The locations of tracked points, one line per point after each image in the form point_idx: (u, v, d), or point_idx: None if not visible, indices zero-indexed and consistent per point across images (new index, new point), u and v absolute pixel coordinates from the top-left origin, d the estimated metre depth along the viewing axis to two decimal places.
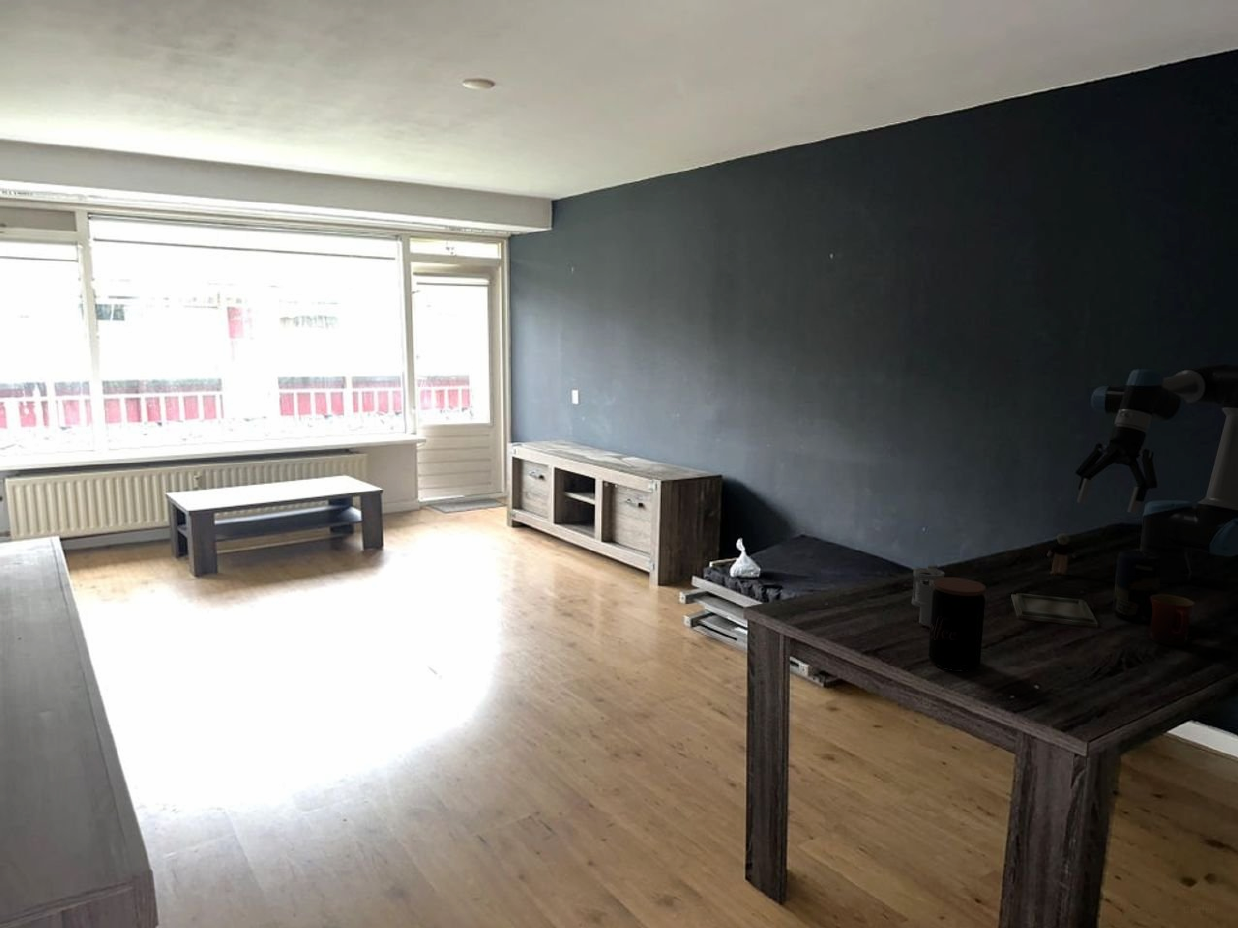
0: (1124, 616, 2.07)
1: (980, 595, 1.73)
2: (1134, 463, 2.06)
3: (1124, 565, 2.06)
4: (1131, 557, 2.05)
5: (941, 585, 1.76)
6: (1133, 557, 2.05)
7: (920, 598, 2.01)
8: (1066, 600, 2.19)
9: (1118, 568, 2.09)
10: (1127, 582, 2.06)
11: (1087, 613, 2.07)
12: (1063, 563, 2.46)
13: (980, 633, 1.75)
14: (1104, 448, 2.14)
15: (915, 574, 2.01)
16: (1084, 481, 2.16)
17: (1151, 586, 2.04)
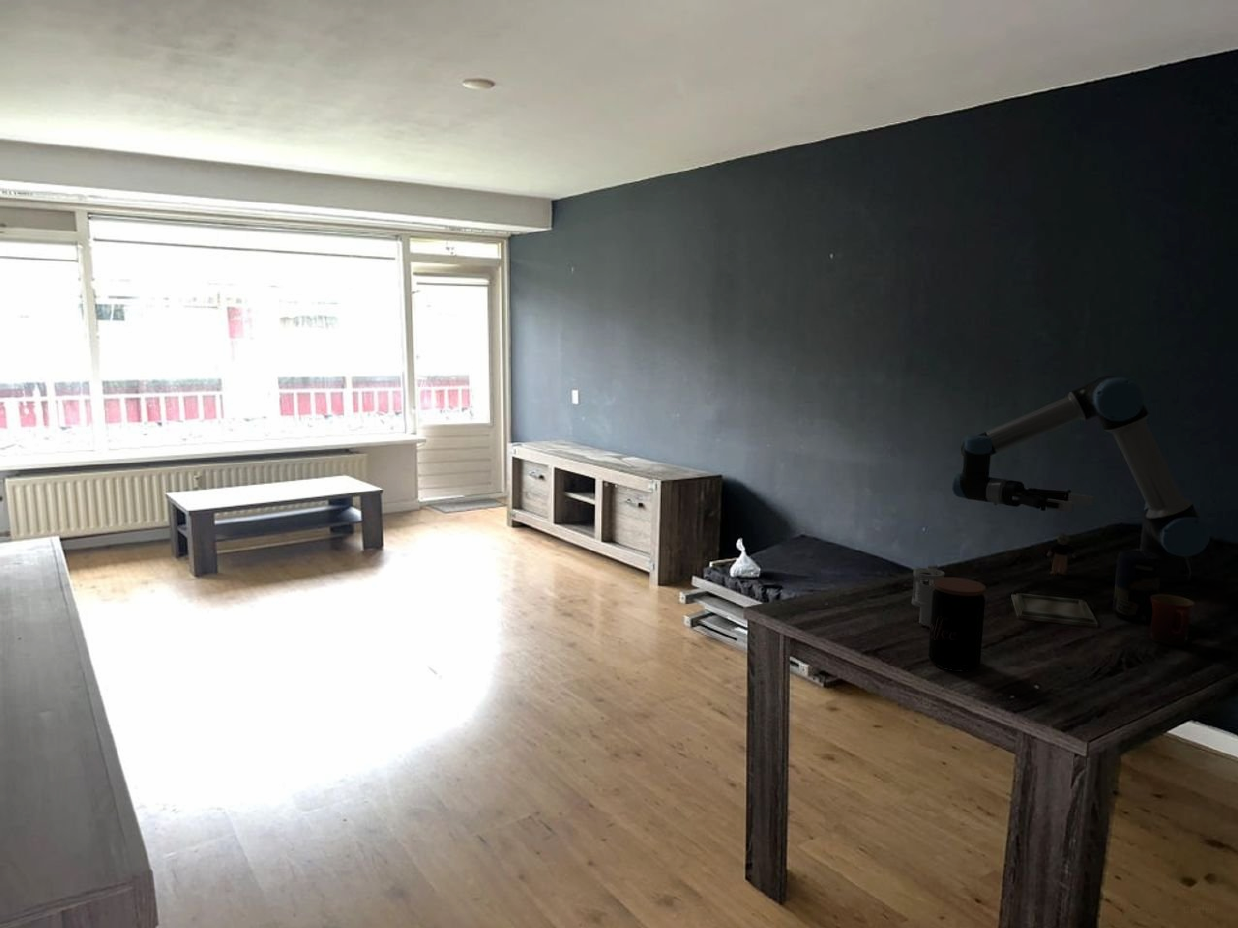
0: (1124, 616, 2.07)
1: (980, 595, 1.73)
2: None
3: (1124, 565, 2.06)
4: (1131, 557, 2.05)
5: (941, 585, 1.76)
6: (1133, 557, 2.05)
7: (920, 598, 2.01)
8: (1066, 600, 2.19)
9: (1118, 568, 2.09)
10: (1127, 582, 2.06)
11: (1087, 613, 2.07)
12: (1063, 563, 2.46)
13: (980, 633, 1.75)
14: None
15: (915, 574, 2.01)
16: None
17: (1151, 586, 2.04)
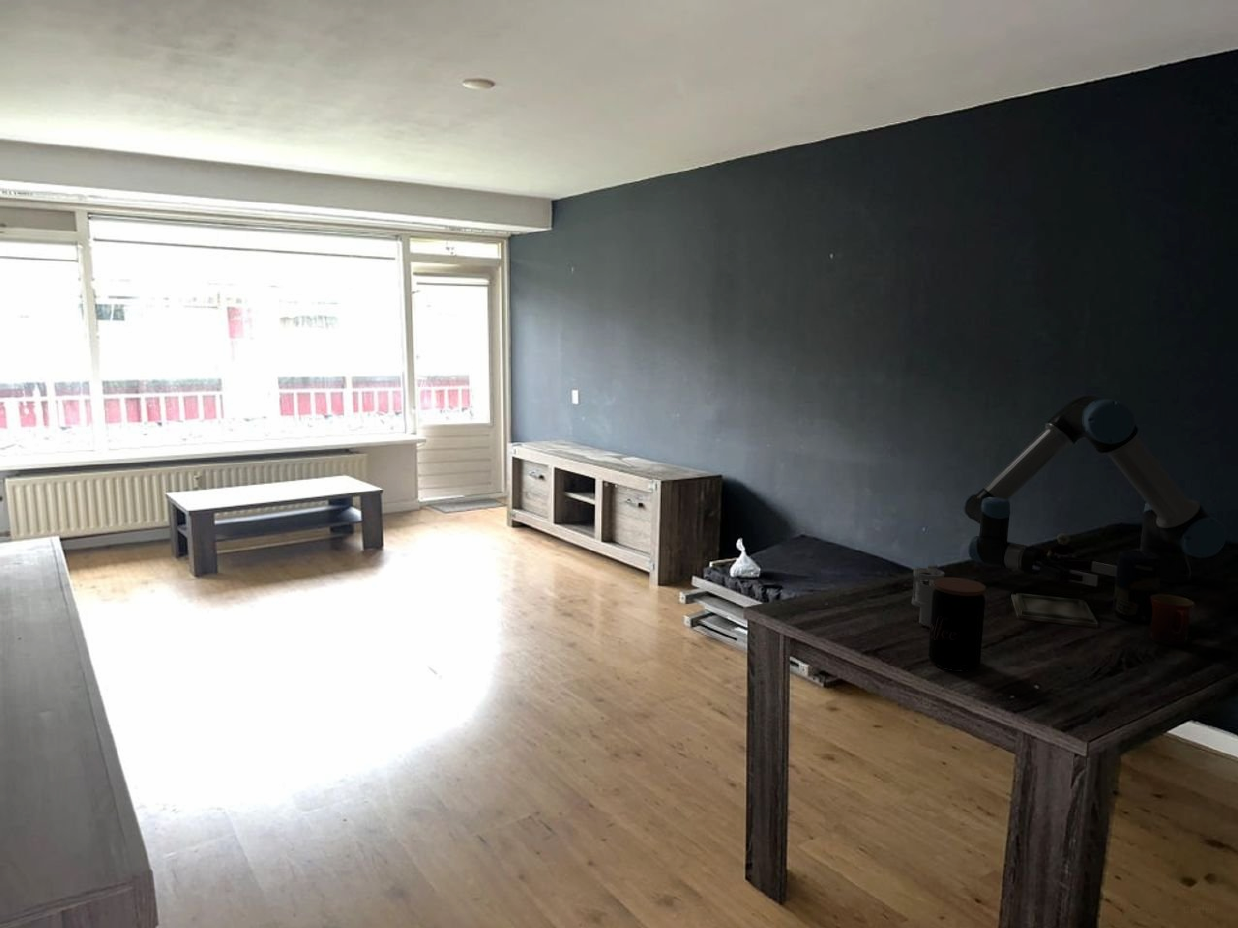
0: (1124, 616, 2.07)
1: (980, 595, 1.73)
2: None
3: (1124, 565, 2.06)
4: (1131, 557, 2.05)
5: (941, 585, 1.76)
6: (1133, 557, 2.05)
7: (920, 598, 2.01)
8: (1066, 600, 2.19)
9: (1118, 568, 2.09)
10: (1127, 582, 2.06)
11: (1087, 613, 2.07)
12: None
13: (980, 633, 1.75)
14: None
15: (915, 574, 2.01)
16: None
17: (1151, 586, 2.04)
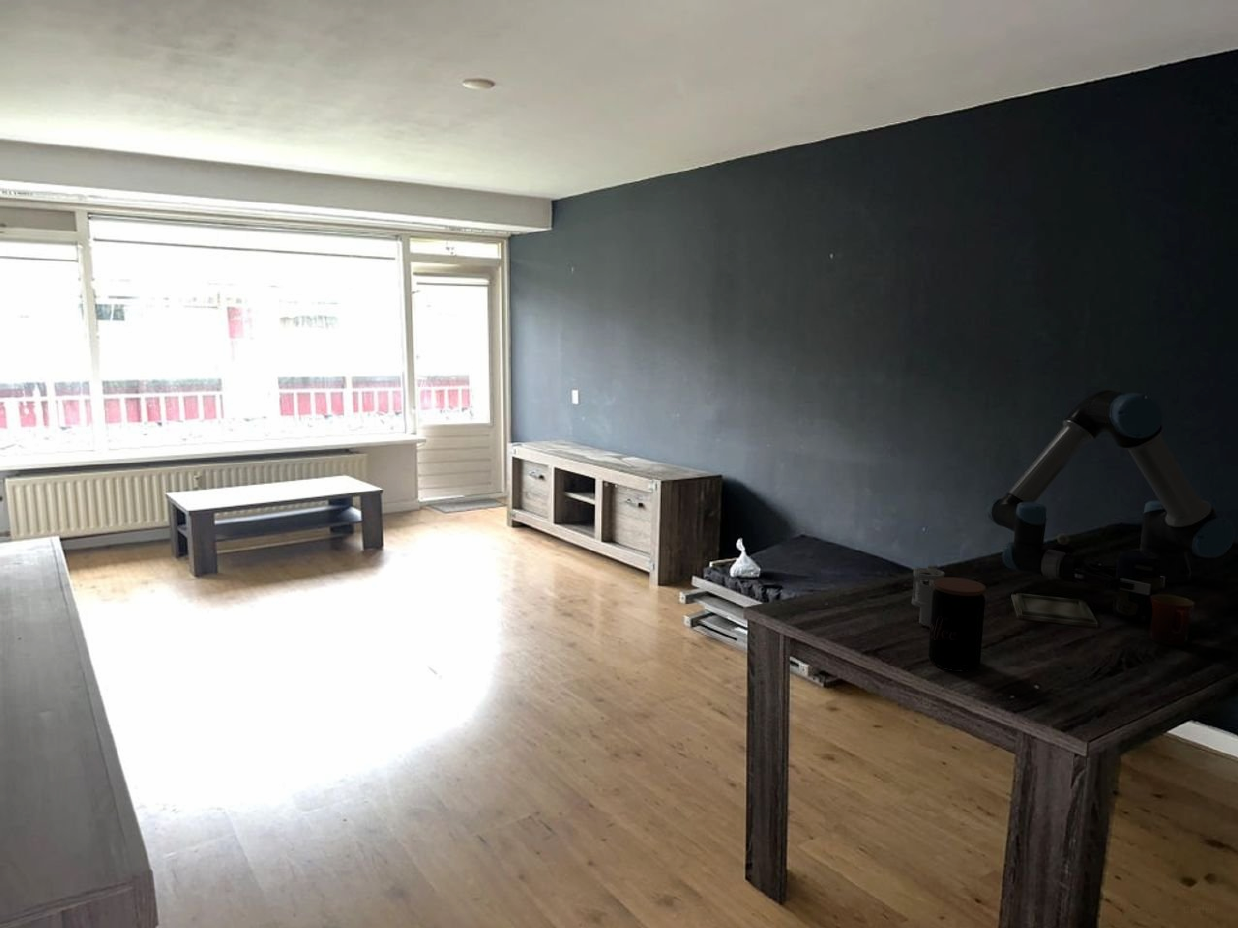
0: (1124, 616, 2.07)
1: (980, 595, 1.73)
2: None
3: (1124, 565, 2.06)
4: (1131, 557, 2.05)
5: (941, 585, 1.76)
6: (1133, 557, 2.05)
7: (920, 598, 2.01)
8: (1066, 600, 2.19)
9: (1118, 568, 2.09)
10: None
11: (1087, 613, 2.07)
12: None
13: (980, 633, 1.75)
14: None
15: (915, 574, 2.01)
16: None
17: (1151, 586, 2.04)
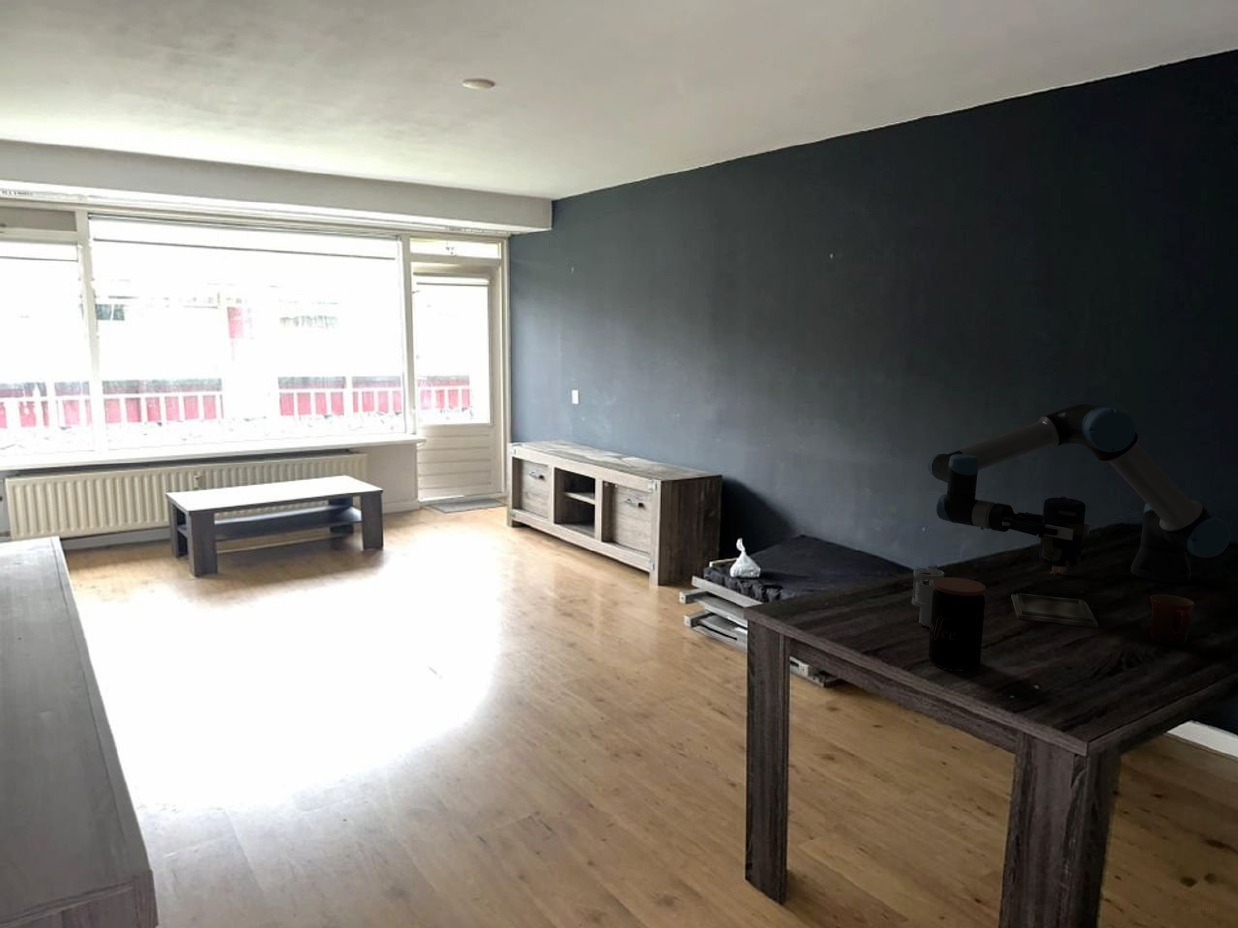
0: (1049, 562, 2.09)
1: (980, 595, 1.73)
2: None
3: (1049, 512, 2.08)
4: (1055, 503, 2.07)
5: (941, 585, 1.76)
6: (1057, 503, 2.06)
7: (920, 598, 2.01)
8: (1066, 600, 2.19)
9: (1043, 515, 2.10)
10: None
11: (1087, 613, 2.07)
12: None
13: (980, 633, 1.75)
14: None
15: (915, 574, 2.01)
16: None
17: (1074, 531, 2.05)
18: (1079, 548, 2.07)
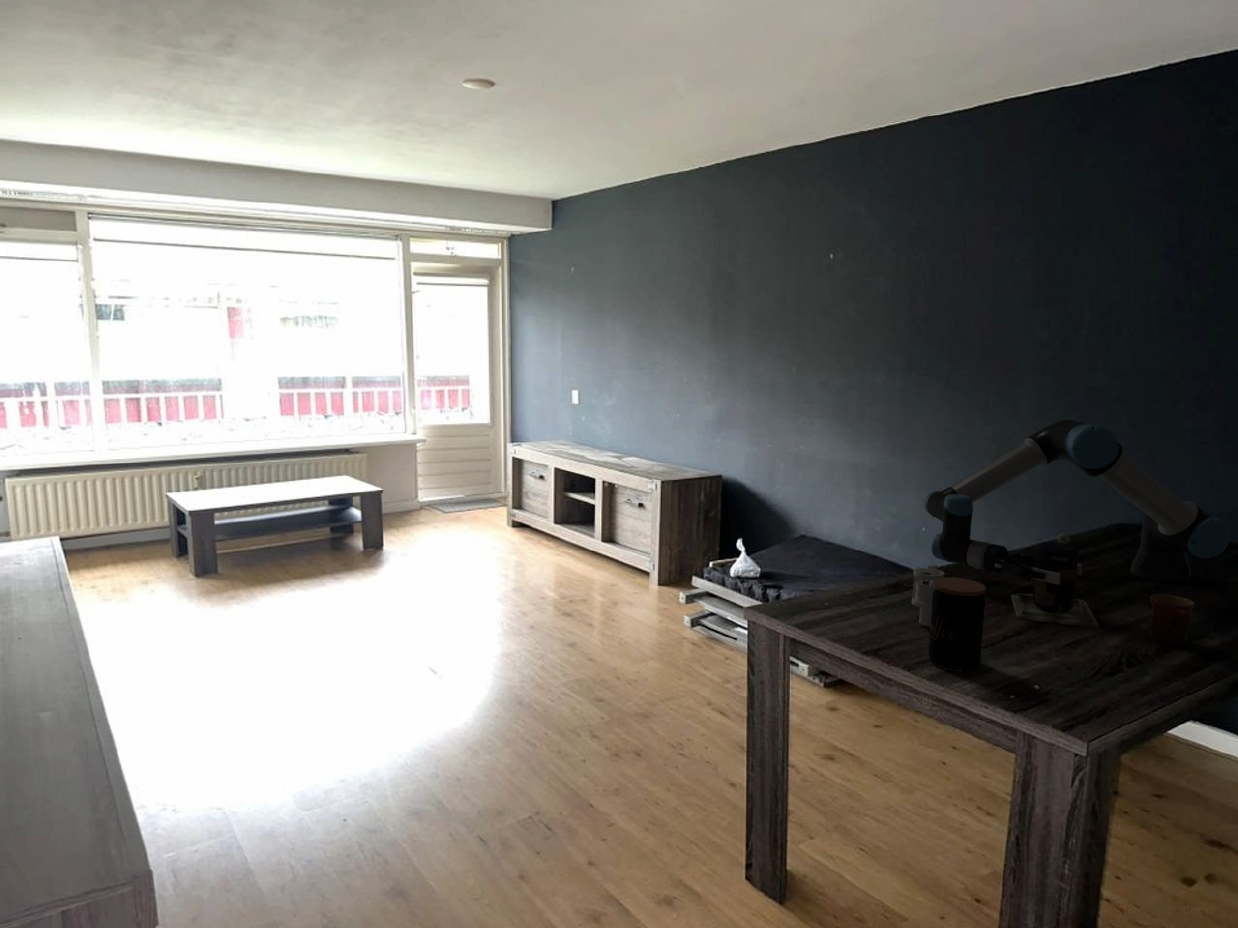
0: (1042, 606, 2.11)
1: (980, 595, 1.73)
2: None
3: (1042, 557, 2.10)
4: (1048, 548, 2.09)
5: (941, 585, 1.76)
6: (1050, 548, 2.09)
7: (920, 598, 2.01)
8: None
9: (1037, 559, 2.12)
10: None
11: (1087, 613, 2.07)
12: None
13: (980, 633, 1.75)
14: None
15: (915, 574, 2.01)
16: None
17: (1067, 577, 2.08)
18: (1072, 593, 2.09)
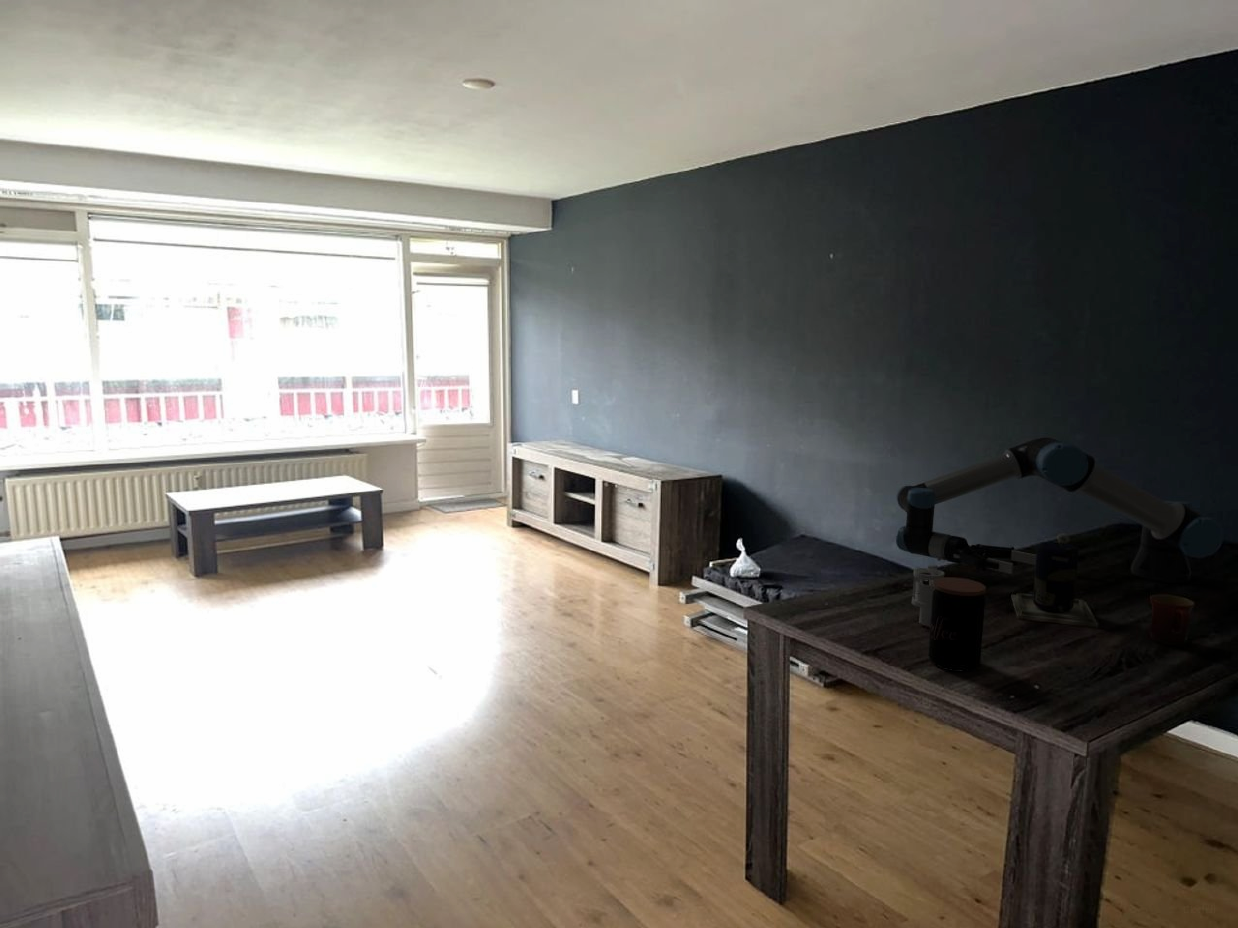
0: (1042, 606, 2.11)
1: (980, 595, 1.73)
2: None
3: (1042, 557, 2.10)
4: (1048, 548, 2.09)
5: (941, 585, 1.76)
6: (1050, 548, 2.08)
7: (920, 598, 2.01)
8: None
9: (1037, 559, 2.12)
10: (1044, 573, 2.10)
11: (1087, 613, 2.07)
12: None
13: (980, 633, 1.75)
14: None
15: (915, 574, 2.01)
16: None
17: (1067, 577, 2.08)
18: (1072, 593, 2.09)
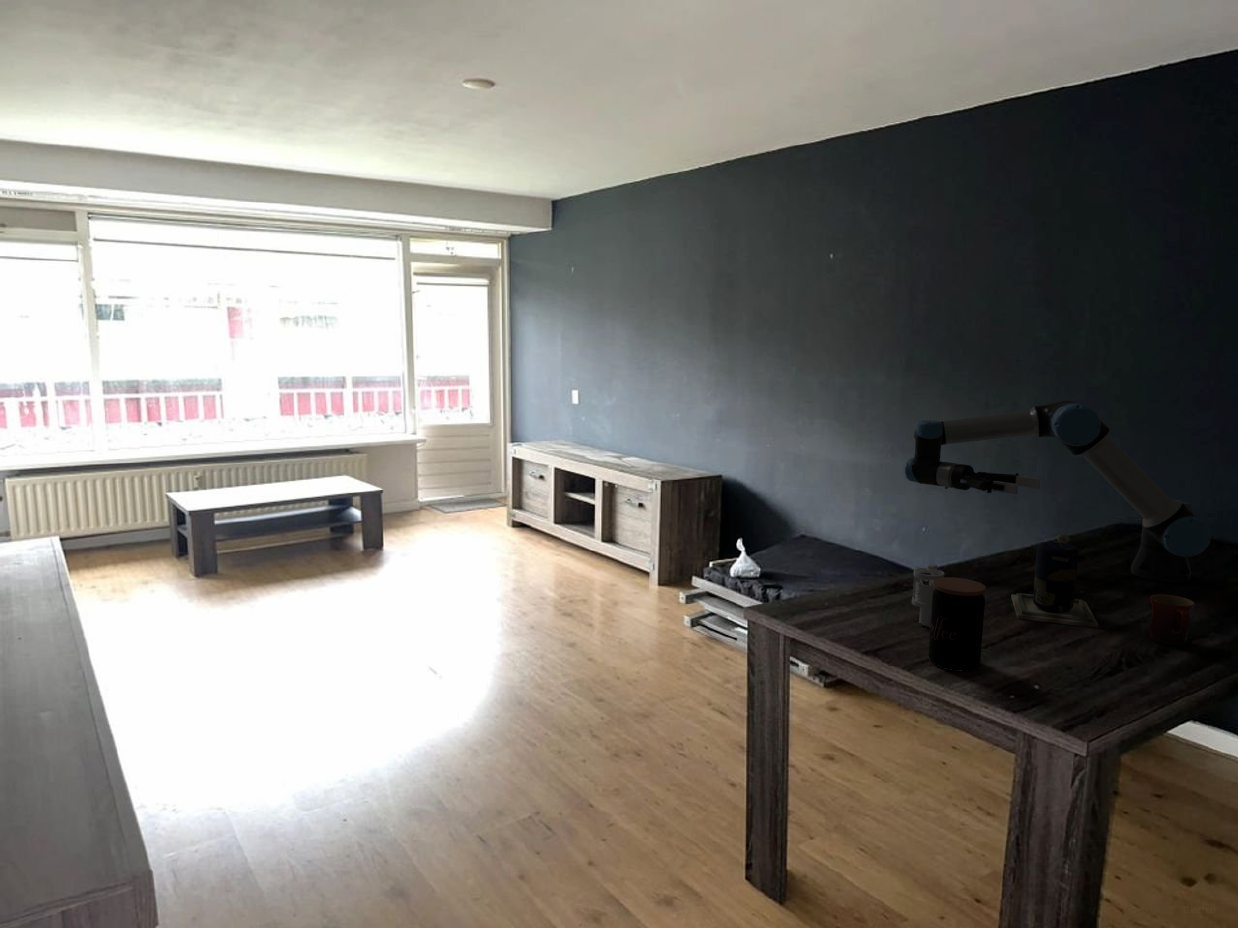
0: (1042, 606, 2.11)
1: (980, 595, 1.73)
2: None
3: (1042, 557, 2.10)
4: (1048, 548, 2.09)
5: (941, 585, 1.76)
6: (1050, 548, 2.08)
7: (920, 598, 2.01)
8: None
9: (1037, 559, 2.12)
10: (1044, 573, 2.10)
11: (1087, 613, 2.07)
12: None
13: (980, 633, 1.75)
14: None
15: (915, 574, 2.01)
16: (1018, 485, 2.36)
17: (1067, 577, 2.08)
18: (1072, 593, 2.09)
